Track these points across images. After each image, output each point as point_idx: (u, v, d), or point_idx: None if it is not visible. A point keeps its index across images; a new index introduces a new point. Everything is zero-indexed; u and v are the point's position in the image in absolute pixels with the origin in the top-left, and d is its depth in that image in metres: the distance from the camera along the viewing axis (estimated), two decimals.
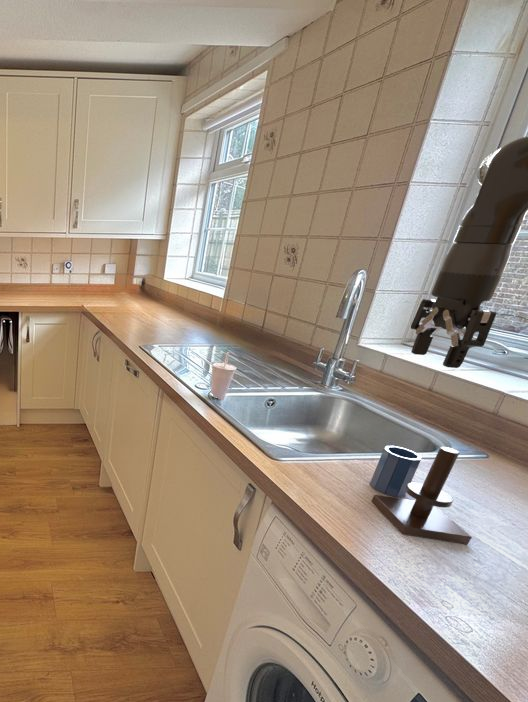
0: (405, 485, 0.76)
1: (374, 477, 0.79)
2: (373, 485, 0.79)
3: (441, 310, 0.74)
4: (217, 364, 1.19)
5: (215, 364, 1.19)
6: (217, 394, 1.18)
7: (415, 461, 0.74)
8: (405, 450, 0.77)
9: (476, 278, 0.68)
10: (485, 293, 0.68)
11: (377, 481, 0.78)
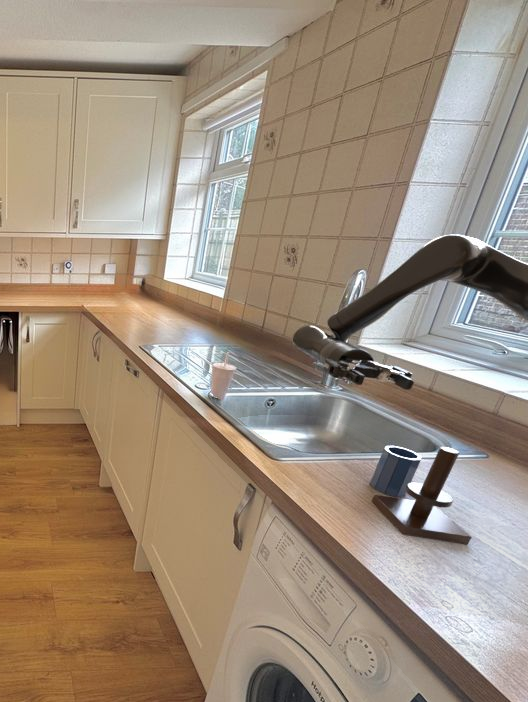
0: (405, 485, 0.76)
1: (374, 477, 0.79)
2: (373, 485, 0.79)
3: None
4: (217, 364, 1.19)
5: (215, 364, 1.19)
6: (217, 394, 1.18)
7: (415, 461, 0.74)
8: (405, 450, 0.77)
9: None
10: (335, 358, 0.95)
11: (377, 481, 0.78)
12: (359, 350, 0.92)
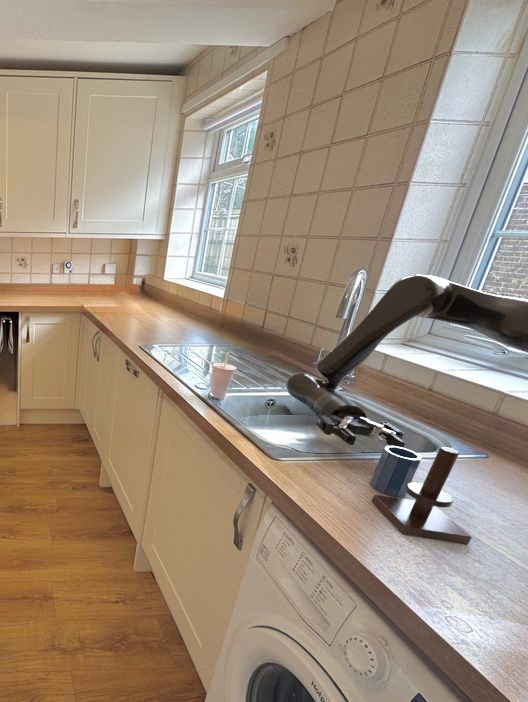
0: (405, 485, 0.76)
1: (374, 477, 0.79)
2: (373, 485, 0.79)
3: None
4: (217, 364, 1.19)
5: (215, 364, 1.19)
6: (217, 394, 1.18)
7: (415, 461, 0.74)
8: (405, 450, 0.77)
9: None
10: (328, 412, 0.95)
11: (377, 481, 0.78)
12: (351, 405, 0.93)
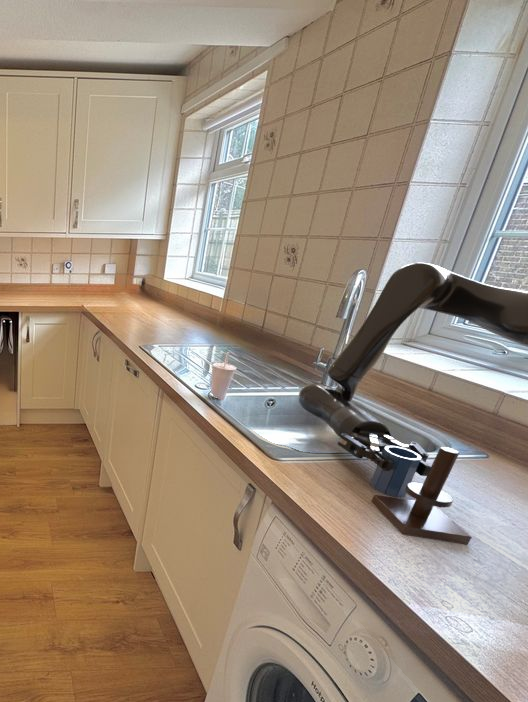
0: (405, 485, 0.76)
1: (374, 477, 0.79)
2: (373, 485, 0.79)
3: None
4: (217, 364, 1.19)
5: (215, 364, 1.19)
6: (217, 394, 1.18)
7: (415, 461, 0.74)
8: (405, 450, 0.77)
9: (340, 433, 0.90)
10: (348, 429, 0.87)
11: (377, 481, 0.78)
12: (374, 422, 0.84)
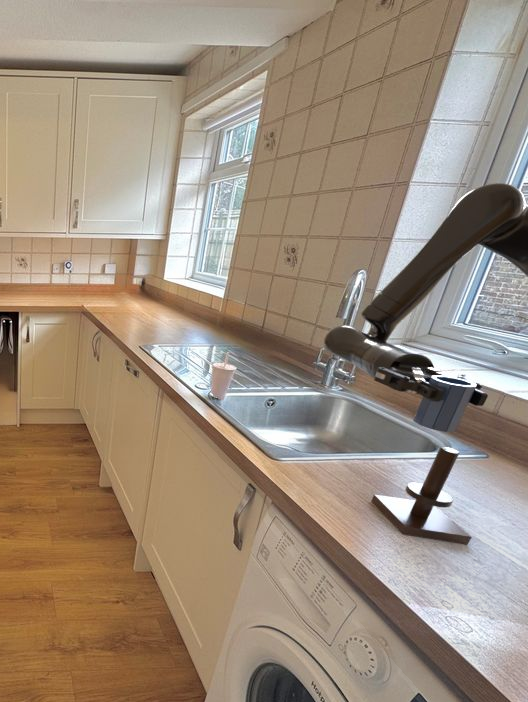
0: (457, 418, 0.66)
1: (419, 412, 0.69)
2: (418, 420, 0.69)
3: None
4: (217, 364, 1.19)
5: (215, 364, 1.19)
6: (217, 394, 1.18)
7: (469, 388, 0.64)
8: (455, 379, 0.68)
9: (374, 371, 0.80)
10: (385, 364, 0.77)
11: (423, 415, 0.68)
12: (416, 355, 0.75)
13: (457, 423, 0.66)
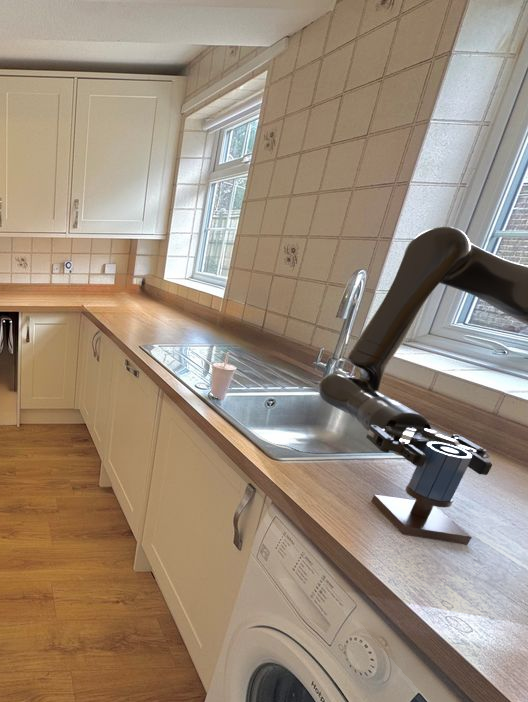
0: (452, 488, 0.65)
1: (414, 478, 0.68)
2: (413, 487, 0.68)
3: None
4: (217, 364, 1.19)
5: (215, 364, 1.19)
6: (217, 394, 1.18)
7: (465, 459, 0.63)
8: (450, 447, 0.66)
9: (370, 427, 0.79)
10: (380, 422, 0.76)
11: (418, 483, 0.67)
12: (412, 414, 0.73)
13: (452, 493, 0.65)
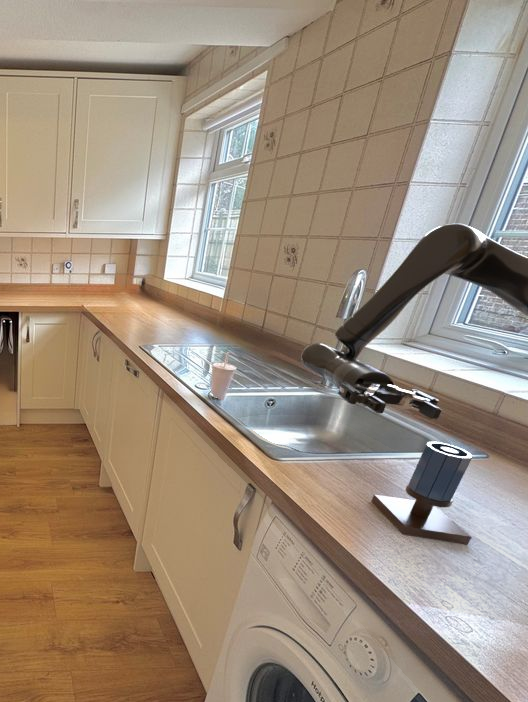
0: (452, 488, 0.65)
1: (414, 478, 0.68)
2: (413, 487, 0.68)
3: None
4: (217, 364, 1.19)
5: (215, 364, 1.19)
6: (217, 394, 1.18)
7: (465, 459, 0.63)
8: (450, 447, 0.66)
9: None
10: (351, 381, 0.86)
11: (418, 483, 0.67)
12: (377, 373, 0.84)
13: (452, 493, 0.65)
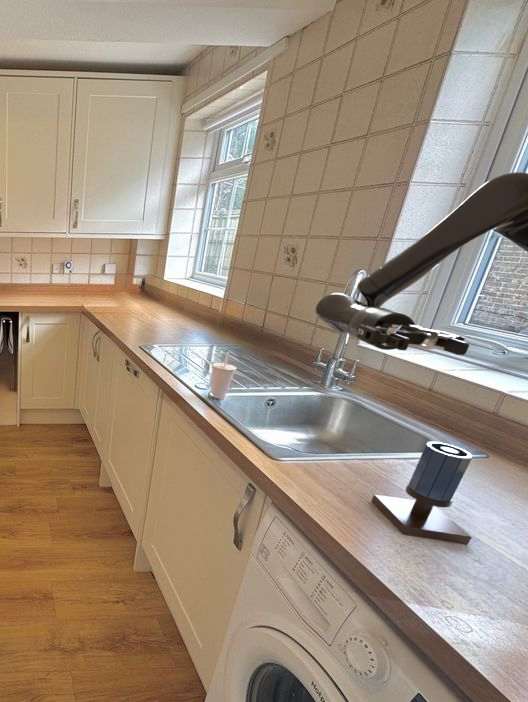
0: (452, 488, 0.65)
1: (414, 478, 0.68)
2: (413, 487, 0.68)
3: None
4: (217, 364, 1.19)
5: (215, 364, 1.19)
6: (217, 394, 1.18)
7: (465, 459, 0.63)
8: (450, 447, 0.66)
9: None
10: (370, 324, 0.82)
11: (418, 483, 0.67)
12: (399, 314, 0.80)
13: (452, 493, 0.65)
